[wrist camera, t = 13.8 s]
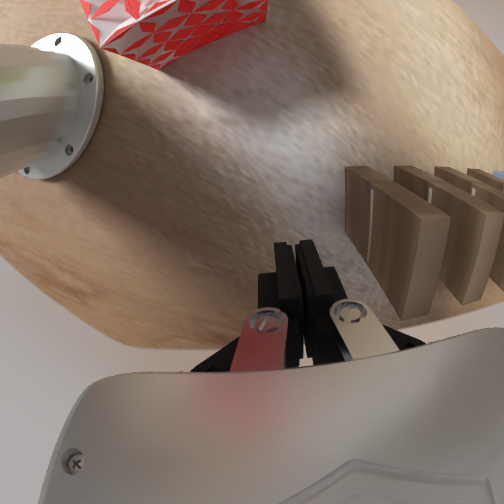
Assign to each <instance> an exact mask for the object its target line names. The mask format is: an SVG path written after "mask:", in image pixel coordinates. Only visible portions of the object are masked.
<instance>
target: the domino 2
mask: <svg viewBox="0 0 504 504" xmlns="http://www.w3.org/2000/svg"><path fill="white" fill-rule="evenodd" d="M394 182H396V183H398V184H399V185H401V186H403V187H405V188H406V189H408V190H410V191H411V192H413V193H415V194H416V195H418V196H419V197H421V198H423V199H424V200H426V201H427V202H429V203H431V204H432V205H434V206H435V207H437V208H438V209H440V210H441V211H443V212H444V213H446V214H447V215H449V216H450V217H451V220H450V226H449V232H448V238H447V243H446V248H445V253H444V257H443V262H442V266H441V270H440V274H439V278H440V280H441V281H442V282H443V283H444V284H445V285H446V287H447V288H448V289H449V290H450V291H451V293H452V294H453V295H454V296H455V297H456V299H457V300H458V301H459V302H460V304H461V305H464V304H468V303H471V302H474V301H478V300H481V297H482V295H483V292H484V289H485V286H486V283H487V280H488V277H489V274H490V271H491V268H492V265H493V261H494V258H495V254H496V250H497V247H498V243H499V238H500V234H501V230H502V225H503V220H504V213H502V212H501V211H499V210H498V209H496V208H494V207H493V206H491V205H489V204H488V203H486V202H484V201H482V200H481V199H479V198H477V197H475V196H473V195H471V194H470V193H468V192H466V191H464V190H462V189H460V188H458V187H456V186H454V185H452V184H450V183H448V182H446V181H444V180H442V179H440V178H438V177H436V176H433V175H431V174H429V173H427V172H425V171H422V170H420V169H418V168H415V167H413V166H394Z"/></svg>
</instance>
